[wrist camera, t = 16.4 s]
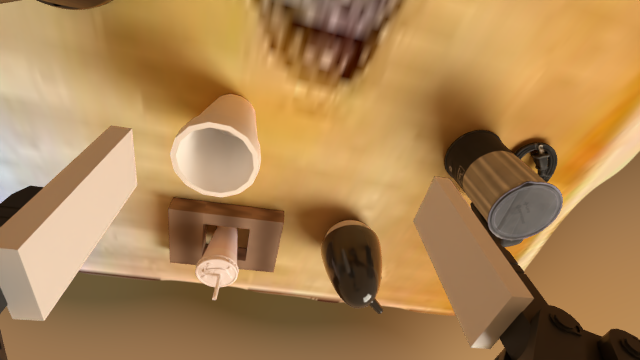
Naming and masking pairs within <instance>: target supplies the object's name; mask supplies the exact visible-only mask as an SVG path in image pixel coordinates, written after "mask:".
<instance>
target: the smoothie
mask: <svg viewBox="0 0 640 360" xmlns="http://www.w3.org/2000/svg"><path fill="white" fill-rule="evenodd" d="M237 239H238V230H237V228H234V227H226V226H218V227H217V228H216V231H215V233H214V235H213V237H212V239H211V241H210V243H209V245H208V247H207V249H206V251H205V253H204V255H203V257H202V258H201V259H200V260H199V261H198V263H197V265H196V270H195V274H196V277H197V278H198V279H199V280H200V281H201V282H202V283H204V284H206V285H208V286H212V287H215V290H214V294H213V298H212V299H213V300H216V299H217V294H218V290H219V287H224V286H228V285H230V284H232V283H233V282H234V281H235V280H236V279H237V275H238V272H239V270H238V266H237Z"/></svg>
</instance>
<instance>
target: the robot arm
mask: <svg viewBox="0 0 640 360" xmlns="http://www.w3.org/2000/svg"><path fill="white" fill-rule="evenodd" d="M14 1H20V0H0V4H2V3H8V2H14ZM37 1H39V2H42V3H45V4H47V5H50V6H54V7H58V8H62V9H71V10H82V9H89V8H94V7H98V6H101V5H104V4H107V3H109V2H111V1H112V0H37ZM136 186H137V177H136V166H135V155H134V145H133V134H132V129H131V128H124V127H118V126H110V127H109V128H108V129H107V130H106V131H105V132H104V133H102V134H101V135H100V136H99V137H98V138H97V139H96V140H95V141H94V142H93V143H92V144H90V145H89V146H88V147H87V148H86V149H85V150H84V151H83V152H82V153H81V154H80V155H79V156H77V157H76V158H75V159H74V160H73V161H72V162H71V163H70V164H69V165H68V166H67V167H66V168H64V169H63V170H62V171H61V172H60V173H59V174H58V175H57V176H56V177H55V178H54V179H52V180H51V181H50V182H49V183H48V184H47V185H46V186H45V187H37V186H29V187H27V188H24V189H22V190H20V191H18V192H16V193H14V194H11V195H10V196H9V197H8V198H7V199H6V200H4V201H3V202H2V203H1V204H0V313H1V312H2V311H3V310H4V308H5V307H6V306H7V307H8V310H9V312H10V314H11V316H12V318H13V319H22V320H38V321H44V320H45V319H46V317H47V316H48V314H49V313H50V311H51V310H52V309H53V307H54V306H55V304H56V303H57V301H58V300H59V298H60V297H61V295H62V294H63V293H64V291H65V290H66V288H67V287H68V285H69V284H70V282H71V281H72V280H73V278H74V277H75V275H76V274H77V272H78V271H79V269H80V268H81V266H82V265H83V264H84V262H85V261H86V259H87V258H88V256H89V255H90V253H91V252H92V250H93V249H94V247H95V246H96V245H97V243H98V242H99V240H100V239H101V237H102V236H103V234H104V233H105V231H106V230H107V229H108V227H109V226H110V224H111V223H112V221H113V220H114V218H115V217H116V215H117V214H118V213H119V211H120V210H121V208H122V207H123V205H124V204H125V202H126V201H127V199H128V198H129V197H130V195H131V194H132V192H133V191H134V189H135V188H136ZM413 222H414V224H415V226H416V228H417V230H418V233H419V235H420V237H421V239H422V241H423V244H424V246H425V248H426V250H427V252H428V255H429V257H430V259H431V261H432V263H433V266H434V268H435V270H436V272H437V274H438V277H439V279H440V281H441V283H442V285H443V288H444V290H445V292H446V294H447V296H448V299H449V301H450V303H451V305H452V307H453V310H454V312H455V314H456V316H457V318H458V321H459V323H460V325H461V327H462V329H463V332H464V334H465V336H466V338H467V340H468V343H469V345H470V347H471V348H487V349H491V348H492V346H493V345H494V344H495V343H496V342H497V340H499V338H500V340H501V341H502V344H503V345H504V347H505V348H504V349H503V350H502V352H501V353H500V354H499V355H498V356H497V357H496V358H495V360H640V340H639V339H638V338H637V337H635V336H633V335H631V334H629V333H627V332H626V331H623V330H619V329H611V330H610V331H609V332H607V333H606V334H605V335H604V336H603V337H602V336H599V335H596V334H593V333H591V332H588V331H585V330H583V328H582V327H581V326H580V324H579V323H578V322H577V321H576V320H575V319H574V318H573V317H572V316H571V315H569V314H568V313H567V312H565V311H564V310H562V309H560V308H557V307H555V306H550V305H548V304H547V303H546V301H545V300H544V298H543V297H542V296H541V294H540V293H539V292H538V290H537V289H536V288H535V286H534V285H533V283H532V282H531V281H530V279H529V278H528V277H527V275H526V274H524V271H523V270H522V268H521V267H520V266H519V265H518V263H517V262H516V260H515V259H514V257H513V256H512V255H511V253H510V252H509V251H507V250H506V249H505V248H504V247H503V246H502V245H501V244H499V243H496V242H494V241H493V239H492V238H491V236H490V235H489V234H488V232H487V231H486V229H485V228H484V227H483V225H482V224H481V222H480V221H479V219H478V218H477V217H476V215H475V214H474V212H473V211H472V210H471V208H470V207H469V205H468V204H467V202H466V201H465V200H464V198H463V197H462V195H461V194H460V193H459V191H458V190H457V188H456V187H455V185H454V184H453V183H452V181H451V180H450V179H449V178H443V177H437V176H434V179H433V181H432V183H431V185H430V187H429V189H428V191H427V193H426V195H425V197H424V200H423V202H422V204H421V206H420V208H419V210H418V212H417V214H416V216H415V218H414V221H413ZM0 360H7V356H6V353H5V348H4V344H3V340H2V335H1V331H0Z"/></svg>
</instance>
